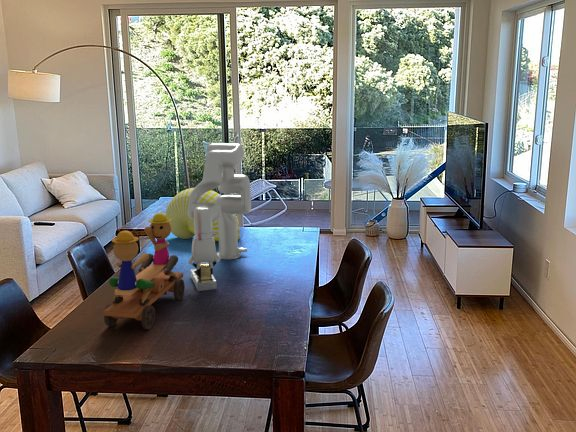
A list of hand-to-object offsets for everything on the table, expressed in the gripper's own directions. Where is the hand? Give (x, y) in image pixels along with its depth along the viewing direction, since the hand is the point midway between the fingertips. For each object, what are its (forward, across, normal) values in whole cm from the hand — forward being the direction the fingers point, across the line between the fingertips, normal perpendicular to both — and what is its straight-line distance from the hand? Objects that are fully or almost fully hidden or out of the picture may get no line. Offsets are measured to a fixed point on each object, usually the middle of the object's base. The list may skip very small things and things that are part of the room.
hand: (204, 276), depth 247 cm
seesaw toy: (+5, +26, +22) cm, 34 cm away
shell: (+5, -12, -78) cm, 79 cm away
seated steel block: (+4, 0, -9) cm, 10 cm away
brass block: (+3, 0, 0) cm, 3 cm away
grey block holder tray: (+4, 0, -4) cm, 6 cm away
